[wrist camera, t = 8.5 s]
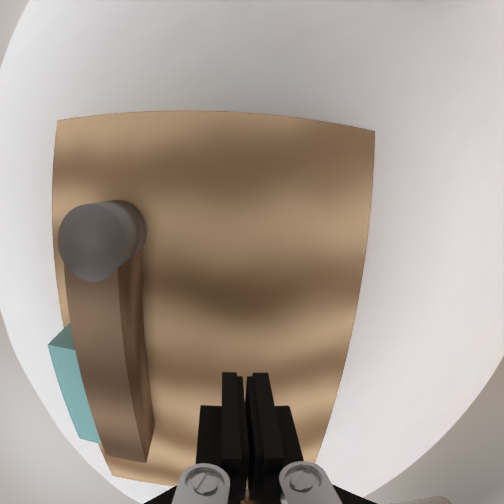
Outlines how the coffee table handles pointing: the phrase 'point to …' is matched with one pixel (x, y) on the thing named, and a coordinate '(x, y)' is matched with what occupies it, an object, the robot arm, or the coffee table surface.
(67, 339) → the stop block
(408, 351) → the coffee table surface
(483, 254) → the coffee table surface
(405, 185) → the coffee table surface
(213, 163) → the stool top
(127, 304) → the folding leg
